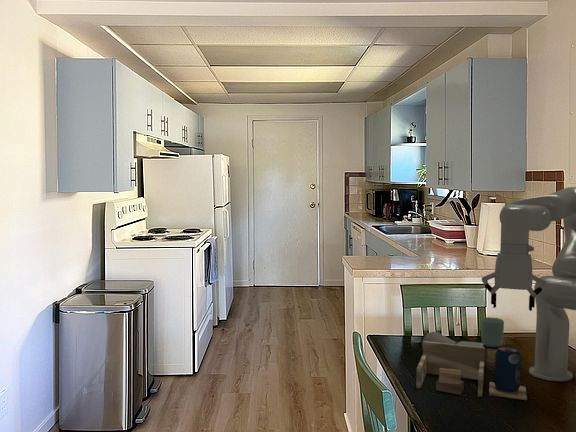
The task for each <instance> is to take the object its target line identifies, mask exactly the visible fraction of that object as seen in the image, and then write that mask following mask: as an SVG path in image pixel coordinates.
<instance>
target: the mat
mask: <svg viewBox="0 0 576 432" xmlns="http://www.w3.org/2000/svg"><path fill="white" fill-rule="evenodd" d="M488 387H489V389H488V396H493V397H500V398H507V399H516V400H524V401H528V396H527V388H526V386H525V385H520V388H519V389H518V390H517V392H515V393H506V392H502V391H499V390H498V389H497V388H496V386H495V384H494V381H489V386H488Z"/></svg>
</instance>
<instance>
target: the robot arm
mask: <svg viewBox="0 0 576 432" xmlns="http://www.w3.org/2000/svg"><path fill="white" fill-rule="evenodd" d="M561 220H562V222H563V223H562V224H563V229H564V237H565V241H564V243H563V245H562V247H561V248H560V250H559V252H558V254H557V256H556V258H555V260H554V262H553V263H552V267H551V273H552V275H543V276H541V277H538V276H536V274H533V260H532V255H531V254H530V252H534V251H535V246H533V245H530V244H529V243H530V242H529V241H530V232H542V231H545V230H546V229H548V228H549V227H550V226H551V223H552V222H559V221H561ZM499 222H500V250H499V252H497V255H496V257H495V258H496V259H495V264H494V272H492V273H490V274H487V275H485V276H482V278H481V281H482V283H483V286H484V288H485V289H486V290H487V291H488V292H489V293H490V296H491V297H490V305H493V309H496V308H497V291H498V290H499V289H504V290H505V289H507V290H519V291H521V290H522V291H527V292H528V293H529V296H528V310H529V311H530V312H532V311H533V309H534V308H535V306H536V309H535V310H536V323H535V325H536V326H535V345H534V349H535V350H534V365H533V366H530V367H529V369H528V372H529V374H530V375H531V376H533V377H534V378H538V379H540V380H541V379H542V380H545V381H550V382H551V381H552V382H568V381H572V380H573V378H574V376H573V372H571V371H569V370H568V363H569V362H568V361H569V340H570V337H569V336H570V319H569V317H568V314H567V312H566V311H565V310H572V311H576V186H570V187H566V188H562V189H560V190H557V191H554V192H552V193H550V194H545V195H539V196H534V197H528V198H527V197H526V198H522V199H517V200H514V201H512V202H509V203H507V204H505V205H504V206H503V207H502V208H501V210H500V213H499ZM492 279H494V285H493V286H491V284H490V283H489V282H488V281H489V280H492ZM533 281H534V282H535V283H534V288H533ZM535 304H536V305H535Z"/></svg>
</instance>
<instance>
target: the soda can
mask: <svg viewBox="0 0 576 432" xmlns="http://www.w3.org/2000/svg"><path fill="white" fill-rule="evenodd" d="M494 358H495V359H494V381H493V382H494V384H495V386H496V388H497V389H498V390H499V391H502V392H506V393H515V392H517V390H518V389H519V388H520V386H521V364H522V363H521V362H522V360H521V359H522V355H521V354H520V350H519V349H518V348H517V347H513V346H508V345H503V346H501V345H500V346H499V347H497V349H496V352H495V354H494Z"/></svg>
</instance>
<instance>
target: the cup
mask: <svg viewBox="0 0 576 432" xmlns="http://www.w3.org/2000/svg"><path fill="white" fill-rule="evenodd" d="M480 322H481V323H480V337H481V343H483V346H485V347H487V348H492V347H493V348H498V347H500V346H501V345H502V344H503V339H504V328H505V325H504V324H505V321H504V320H503V319H502V318H498V317H489V316H488V317H486V316H485V317H482V318H481V321H480Z"/></svg>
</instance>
